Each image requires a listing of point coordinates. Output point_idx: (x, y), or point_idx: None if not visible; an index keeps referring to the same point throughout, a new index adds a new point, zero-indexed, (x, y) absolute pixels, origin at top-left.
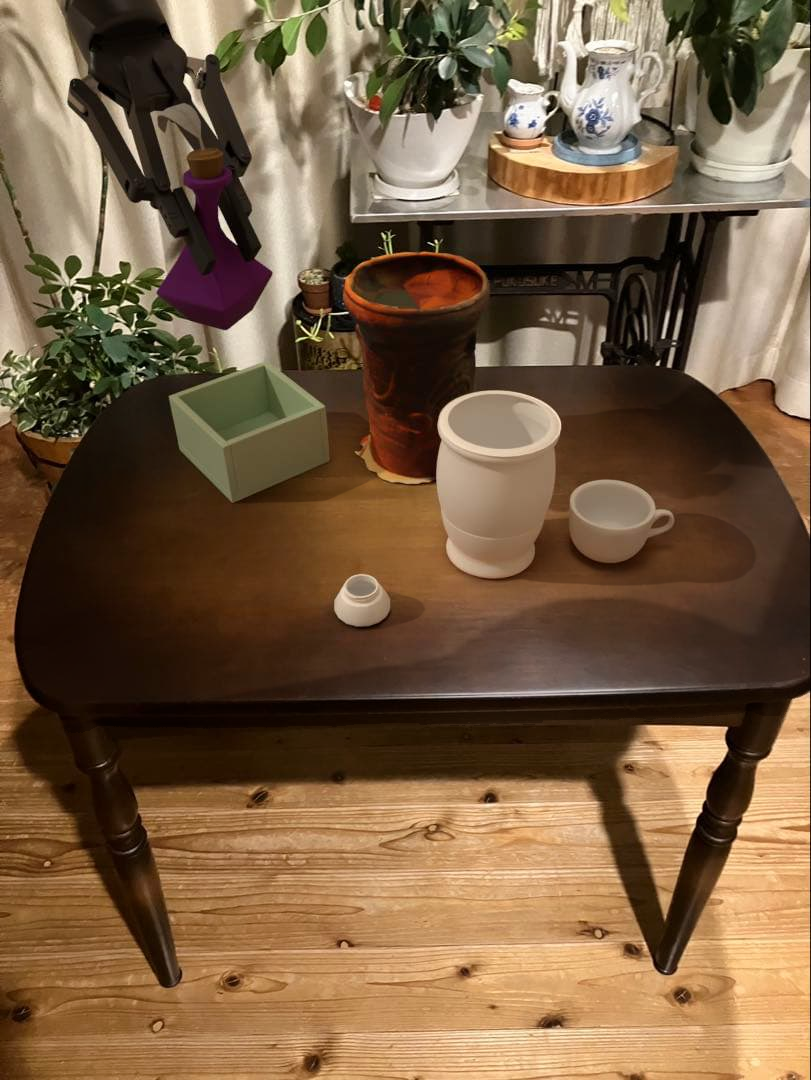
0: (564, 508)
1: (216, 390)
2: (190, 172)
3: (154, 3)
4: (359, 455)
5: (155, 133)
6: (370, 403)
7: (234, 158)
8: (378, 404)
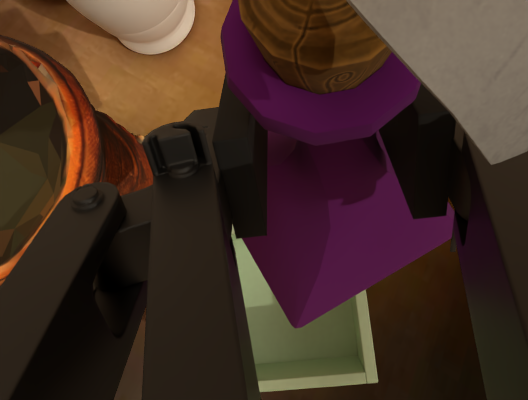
0: (54, 35)
1: (302, 374)
2: (387, 70)
3: None
4: None
5: (524, 307)
6: None
7: (131, 222)
8: (139, 168)
